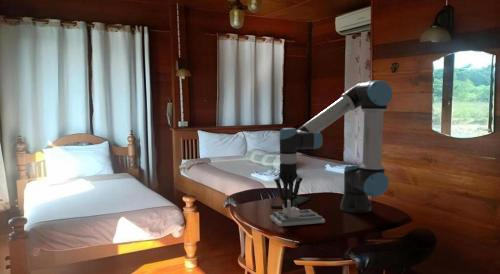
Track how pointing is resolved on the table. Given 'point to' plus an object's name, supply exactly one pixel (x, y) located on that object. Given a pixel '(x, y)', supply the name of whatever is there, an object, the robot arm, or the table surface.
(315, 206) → the table surface
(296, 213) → the tab
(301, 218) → the switch plate
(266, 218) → the table surface
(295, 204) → the firearm
